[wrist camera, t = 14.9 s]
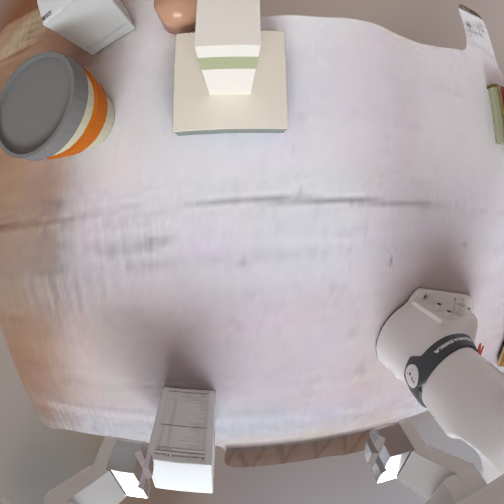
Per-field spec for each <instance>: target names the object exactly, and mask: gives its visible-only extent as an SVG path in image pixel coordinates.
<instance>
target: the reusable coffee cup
mask: <svg viewBox="0 0 504 504" xmlns="http://www.w3.org/2000/svg"><path fill="white" fill-rule="evenodd" d="M114 119H115V111H114V107H113V104H112V102H111V100H110V99H109V98H108V97H107V96H106V94H105V91H104V90H103V88H102V86H101V85H100V84H99V83H98V82H97V81H96V80H95V79H94V78H93V76H92V75H91V74H90V73H89V72H88V71H87V70H85V69H84V68H83V67H82V66H81V65H80V64H79V63H78V62H77V61H76V60H74V59H72V58H70V57H67V56H65V55H62V54H60V53H57V52H51V51H50V52H42V53H39V54H36V55H34V56H32V57H30V58H29V59H27V60H26V61H24V62H23V63H22V64H21V65H20V66H19V67H18V68H17V69H16V70H15V71H14V72H13V73H12V75H11V76H10V77H9V79H8V80H7V82H6V84H5V85H4V87H3V89H2V91H1V94H0V146H1V148H2V149H3V151H5V152H6V153H7V154H8V155H10V156H12V157H14V158H19V159H24V160H30V161H39V160H44V159H54V158H60V157H65V156H71V155H75V154H77V153H80V152H82V151H83V150H90V149H93V148H95V147H97V146H98V145H100V144H101V143H102V142H103V141H104V140H105V139H106V138H107V137H108V135H109V133H110V132H111V130H112V127H113V124H114Z"/></svg>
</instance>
